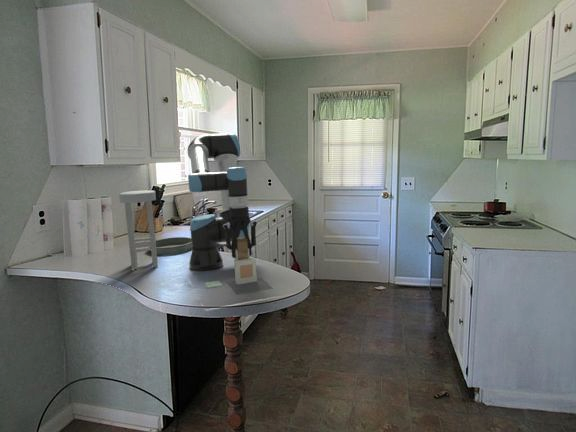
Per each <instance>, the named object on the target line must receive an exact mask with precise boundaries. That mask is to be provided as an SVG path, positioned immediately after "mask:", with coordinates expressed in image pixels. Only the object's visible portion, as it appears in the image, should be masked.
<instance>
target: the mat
mask: <svg viewBox="0 0 576 432" xmlns="http://www.w3.org/2000/svg"><path fill="white" fill-rule="evenodd" d="M227 285H228V286H229V287H230V288H231V290H233V292H234V293H235V294H236V295H243V294H248V293H256V292H259V291H267V290H271V289H273V287H272V286H271V284H269V283H268V282H267V281H266V280H265V279H263V277H261V276H260V277H257V281H256V282H250V283H244V284H238V285H237V284H236V281H235V280H234V281H230V282H227Z"/></svg>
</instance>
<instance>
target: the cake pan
mask: <svg viewBox="0 0 576 432" xmlns="http://www.w3.org/2000/svg"><path fill="white" fill-rule="evenodd" d="M155 241H156V251H157V255H161V254H165V255H174V254H175V255H177V254H180V253H186V252H188V251H190V250H192V242H191V237H186V236H185V237H184V236H173V237H165V238H160V239H155ZM148 248H151V246H150V247H148Z"/></svg>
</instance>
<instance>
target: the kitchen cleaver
mask: <svg viewBox="0 0 576 432" xmlns="http://www.w3.org/2000/svg"><path fill="white" fill-rule="evenodd" d="M231 245H232V242H231ZM218 246H223V247H226V248H227V246H226V242H220V243H218Z"/></svg>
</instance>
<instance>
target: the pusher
mask: <svg viewBox="0 0 576 432" xmlns="http://www.w3.org/2000/svg"><path fill="white" fill-rule="evenodd" d="M236 249H237V250H238V260H242V259H248V245H247V238H245V237H239V238H237V242H236Z"/></svg>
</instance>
